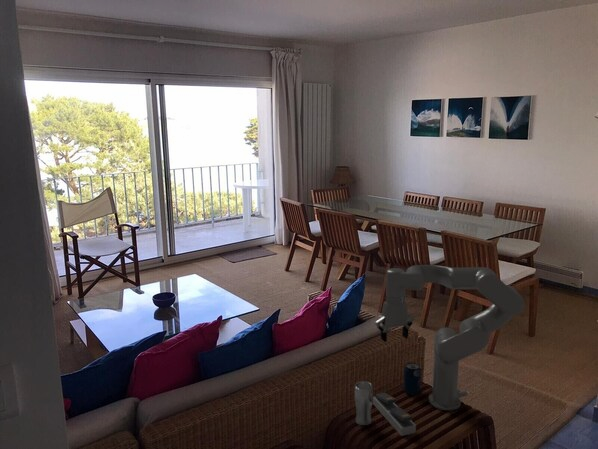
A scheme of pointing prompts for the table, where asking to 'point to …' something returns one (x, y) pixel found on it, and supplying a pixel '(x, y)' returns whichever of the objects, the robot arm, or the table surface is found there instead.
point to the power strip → (394, 417)
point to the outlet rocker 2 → (401, 414)
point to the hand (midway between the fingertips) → (394, 339)
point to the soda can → (412, 378)
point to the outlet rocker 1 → (386, 398)
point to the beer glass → (363, 402)
